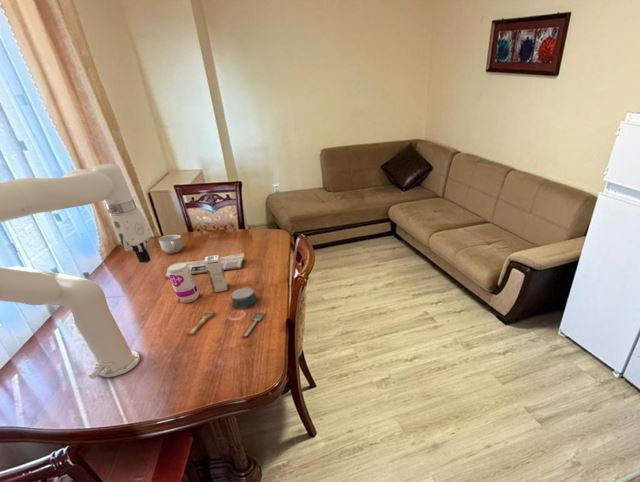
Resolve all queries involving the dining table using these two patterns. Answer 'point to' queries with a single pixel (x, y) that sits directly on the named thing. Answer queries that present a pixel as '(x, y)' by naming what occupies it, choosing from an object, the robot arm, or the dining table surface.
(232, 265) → the newspaper
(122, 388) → the dining table surface
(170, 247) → the teacup
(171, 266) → the supplement can
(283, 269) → the dining table surface
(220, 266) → the syrup box
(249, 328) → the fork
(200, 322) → the spoon
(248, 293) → the tin
